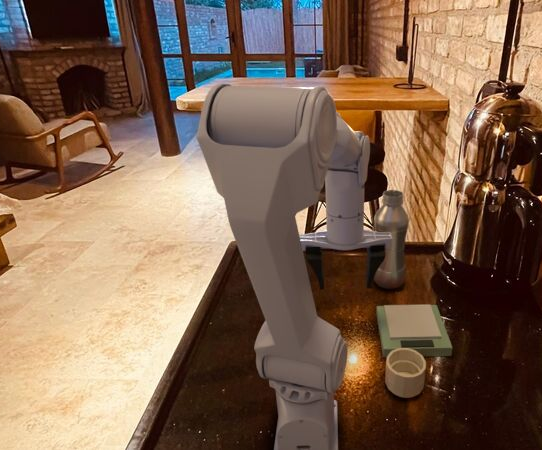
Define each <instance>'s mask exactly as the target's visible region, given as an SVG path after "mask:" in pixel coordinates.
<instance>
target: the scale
mask: <svg viewBox="0 0 542 450" xmlns="http://www.w3.org/2000/svg"><path fill="white" fill-rule="evenodd" d="M375 312H376V320H377V325H378V326H377V327H378V332H379V339H380V346H381V351H382V358H387V356H388V354H389V353H390V352H391V351H393V350H395V349H398V348H409V349H412V350H415V351H417V352H418V353H420V354H421V355H422V356H423V357H452V355H453V344H452V342H451V340H450V336H449V334H448V332H447V329H446V327H445V324H444V321H443V319H442V316H441V313H440V310H439V308H438V305H437V304H431V303H430V304H385V305H377V306H376V311H375Z"/></svg>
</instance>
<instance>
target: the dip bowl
mask: <svg viewBox="0 0 542 450" xmlns="http://www.w3.org/2000/svg"><path fill="white" fill-rule="evenodd" d="M424 357H425V356H422V355H421V354H420V353H418V352H417V351H415V350H412V349H409V348H398V349H395V350H393V351H391V352H390V353H389V354H388V356H387V357H386V361H385V377H384V384H385V385H386V387H387V389H388V390H389V391H390V392H391V393H392V394H393V395H395V396H397V397H399V398H403V399H409V398H413V397H414V398H415V397H416V396H418V395H420V394H421V393H422V391H424V388H425V381H426V372H427V370H426V369H427V361H426V359H425V358H424Z"/></svg>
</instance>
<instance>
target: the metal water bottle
mask: <svg viewBox="0 0 542 450" xmlns="http://www.w3.org/2000/svg"><path fill="white" fill-rule="evenodd" d="M381 204H382V205H381V207H379V208H378V209H377V211H376V212H375V214H374V217H373V223H374V224H373V225H374V231H375V232H384V233H391V235H392V249H385V253H386V256H385V259H384V261H383V262H382V264H381V265H380V266H379V268H378V270H377V272H376V274H375V276H374V279H373V281H374V282H375V283H376V285H377V286H378V287H380V288H383V289H386V290H393V289H398V288H400V287H401V286H402V285H403V284H404V283H405V280H406V277H407V271H406V270H407V269H406V263H405V245H406V237H407V232H408V229H409V223H410V219H409V214H408V213H407V211H406V209H405V208H404V207H403V204H404V193H403V192H402V191H400V190H398V189H397V190H396V189H387V190H385V191H383V193H382V199H381Z"/></svg>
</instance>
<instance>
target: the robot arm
mask: <svg viewBox="0 0 542 450" xmlns="http://www.w3.org/2000/svg"><path fill="white" fill-rule="evenodd" d="M196 139H197V142H198V145H199V147H200V150H201V152H202V155H203V158H204V160H205V163H206V165H207V168H208V171H209V174H210V176H211V179H212V183H213V184H214V187H215V190H216V192H217V194H218V195H219V196H220V197H222V198H223V200H224V205H225V209H226V215H227V219H228V223H229V227H230V230H231V232H232V235H233V238H234V240H235V243H236V245H237V249H238V252H239V254H240V256H241V259H242V261H243V264H244V267H245V270H246V272H247V275H248V277H249V280H250V282H251V286H252V289H253V291H254V294H255V296H256V299H257V301H258V304H259V306H260V309H261V311H262V314H263V317H264V322H263V324H262V325H261V328H260V330H259V332H258V333H257V336H256V339H255V342H254V348H253V350H254V352H255V354H256V357H255V365H256V370H257V372H258V375H259V376H260V378H261V379H265V380H267V379H268V383H269V384H268V385H269V387H270V388H272V389H274V391H275V397H276V398H275V399H276V407H277V416H278V417H277V424H276V431H275V440H274V445H273V450H339V432H338V430H339V428H338V423H339V422H338V401H337V400H336V399H335V393H336V391H338V390H339V389H340V387H341V385H342V383H343V381H344V376H345V372H346V368H347V361H348V343H347V342H346V341H345V339H344V337H342V335H341V330H340V329H339V328H337V327H336V326H334V325H333V324H331V323H329V322H328V321H326V320H324V319H323V318H321V317H319V316H318V313H317V308H316V303H315V299H314V295H313V291H312V286H311V282H310V277H309V273H308V269H307V264H306V262H307V263H308V264H309V266H310V267H311V269H312V271H313V272H314V274H315V277H316V279H317V283H318V287H319V290H320V291H321V290H325V271H324V265H323V249H333V250H337V251H352V250H356V249H361V248H363V249H364V248H365V249H366V271H365V284H366V289H372V287H373V281H374V276H375V274H376V272H377V270H378V268H379V266H380V265H381V264H382V262H383V261H384V259H385V256H386V253H385V249H392V235H391V233H384V232H375V230H366V229H364V228H365V224H364V223H365V183H366V181H367V180H368V168H369V167H368V166H369V162H370V155H371V141H370V137H369V135H365V134H364V132H363V131H357V130H356V131H355V130H353V128H351V127H350V125H349V124H348V123H347V122H346V121H345V120H344V119H343V118H342V117H341V114H340V113H339V112H337V107H336V102H335V100H334V97H333V96H332V95H331V93H330V92H329V90H328V89H327V87H325V86H324V85H314V86H313V87H294V86H293V87H292V86H290V87H289V86H288V87H287V86H253V85H251V86H249V85H245V86H244V85H232V84H230V83H217V84H215V85H213V86H212V87H211V88H210V89H209V91H208V92H207V94H206V95H205V99H204V101H203V103H202V106H201V111H200V117H199V122H198V128H197V133H196ZM324 185H325V221H326V223H325V224H326V230H323V231H317V232H312V233H304V234H302V233H301V234H300V232H299V228H298V224H297V223H298V222H297V219H296V216H297V215H298V213H300V212H302V211H304V210H306V209H307V208H310V207H312V206H313V205H317V204H318V202H319V198H320V195H321V191H322V189H323V188H324ZM304 252H305V254H304Z"/></svg>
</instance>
